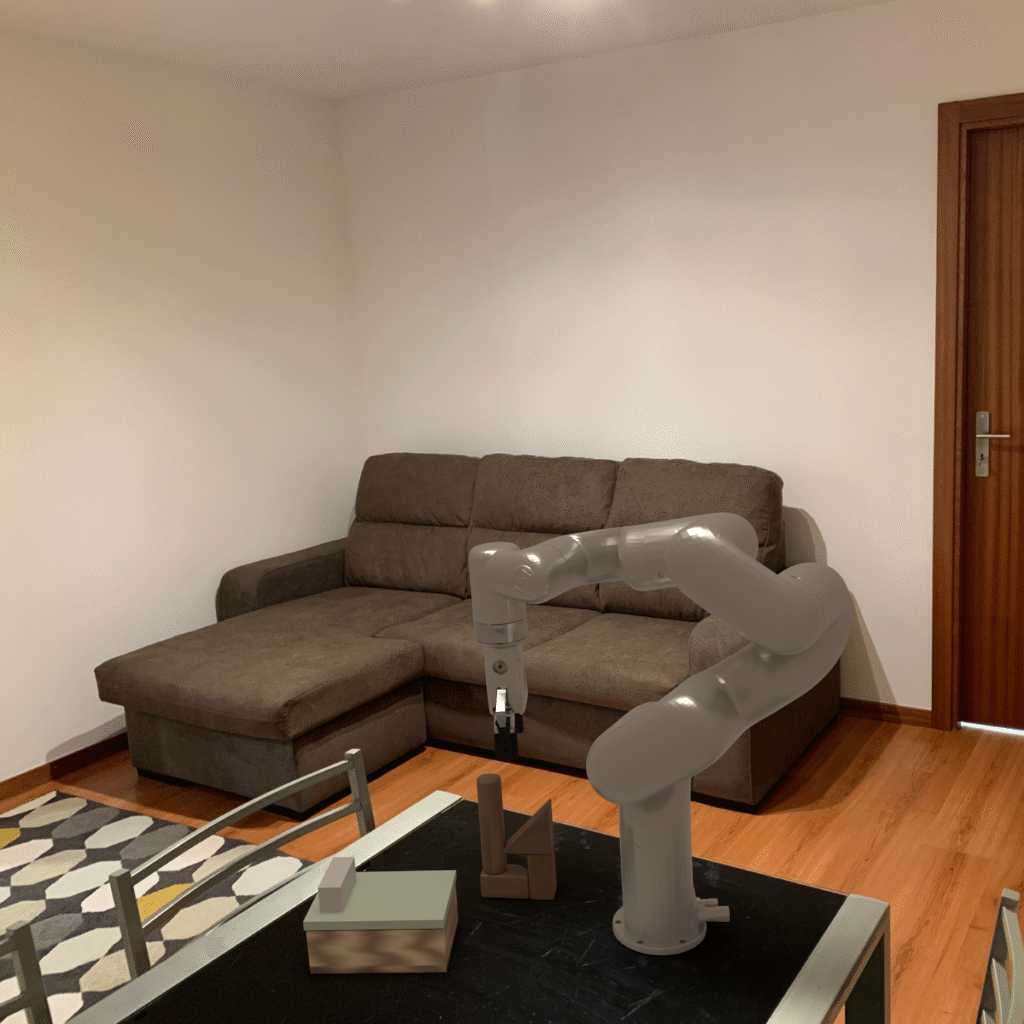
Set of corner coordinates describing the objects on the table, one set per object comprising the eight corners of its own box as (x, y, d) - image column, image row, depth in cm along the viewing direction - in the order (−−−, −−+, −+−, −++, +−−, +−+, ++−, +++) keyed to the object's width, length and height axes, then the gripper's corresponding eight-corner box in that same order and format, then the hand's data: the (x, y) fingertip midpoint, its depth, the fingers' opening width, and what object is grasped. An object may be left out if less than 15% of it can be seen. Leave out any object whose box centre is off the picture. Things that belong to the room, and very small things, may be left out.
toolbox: (458, 920, 143) (455, 880, 142) (446, 972, 131) (442, 929, 130) (333, 922, 145) (329, 883, 144) (310, 973, 133) (306, 931, 132)
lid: (456, 878, 142) (454, 846, 142) (443, 928, 130) (441, 894, 129) (328, 880, 144) (325, 849, 143) (303, 930, 132) (300, 896, 131)
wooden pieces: (553, 901, 146) (546, 784, 144) (481, 898, 148) (472, 782, 146) (557, 887, 150) (550, 773, 147) (486, 885, 152) (477, 772, 149)
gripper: (523, 646, 134) (532, 769, 137) (531, 613, 151) (539, 722, 154) (467, 649, 135) (477, 771, 137) (481, 615, 152) (490, 724, 154)
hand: (510, 745), depth 145 cm, fingers open, 9 cm apart
